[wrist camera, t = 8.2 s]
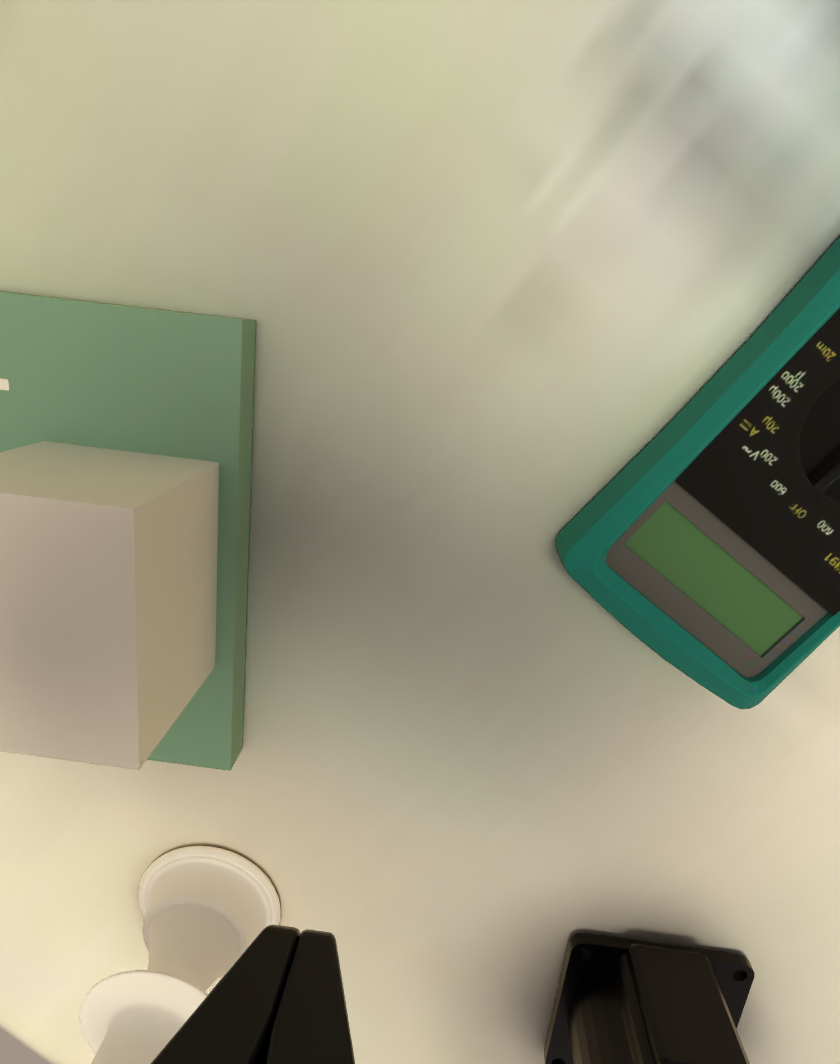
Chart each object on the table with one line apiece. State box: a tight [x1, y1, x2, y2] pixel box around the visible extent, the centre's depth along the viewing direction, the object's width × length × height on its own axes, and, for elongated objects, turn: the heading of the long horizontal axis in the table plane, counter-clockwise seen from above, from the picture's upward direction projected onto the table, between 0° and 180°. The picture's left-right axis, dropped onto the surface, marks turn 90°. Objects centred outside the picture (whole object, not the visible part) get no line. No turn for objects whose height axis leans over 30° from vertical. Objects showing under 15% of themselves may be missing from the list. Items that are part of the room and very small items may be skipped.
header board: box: [0, 291, 256, 771], centre depth 20 cm, size 14×13×1 cm
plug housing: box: [0, 441, 219, 770], centre depth 17 cm, size 6×5×5 cm
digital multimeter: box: [556, 237, 840, 709], centre depth 17 cm, size 7×15×3 cm, turn 141°
